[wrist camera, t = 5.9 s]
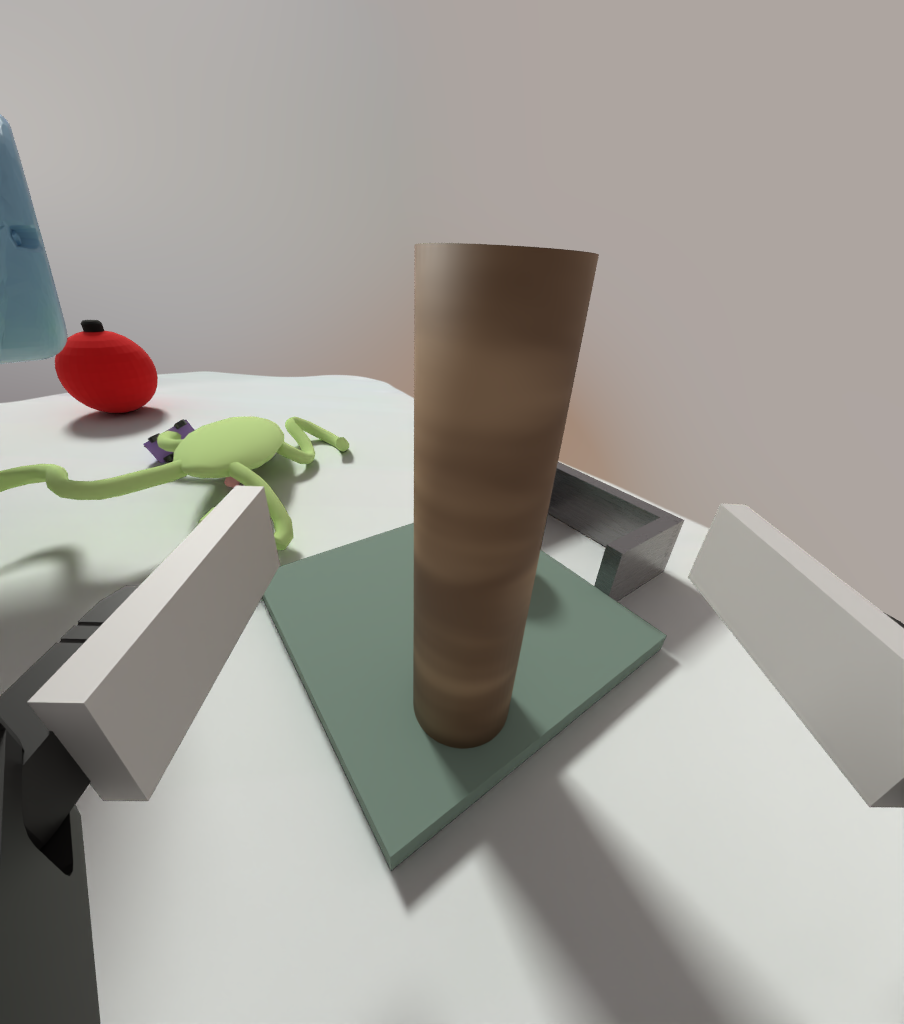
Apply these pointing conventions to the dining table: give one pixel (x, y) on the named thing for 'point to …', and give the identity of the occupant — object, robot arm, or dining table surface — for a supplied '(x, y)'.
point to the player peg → (485, 464)
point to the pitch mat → (389, 678)
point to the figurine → (197, 462)
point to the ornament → (106, 370)
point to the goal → (615, 529)
